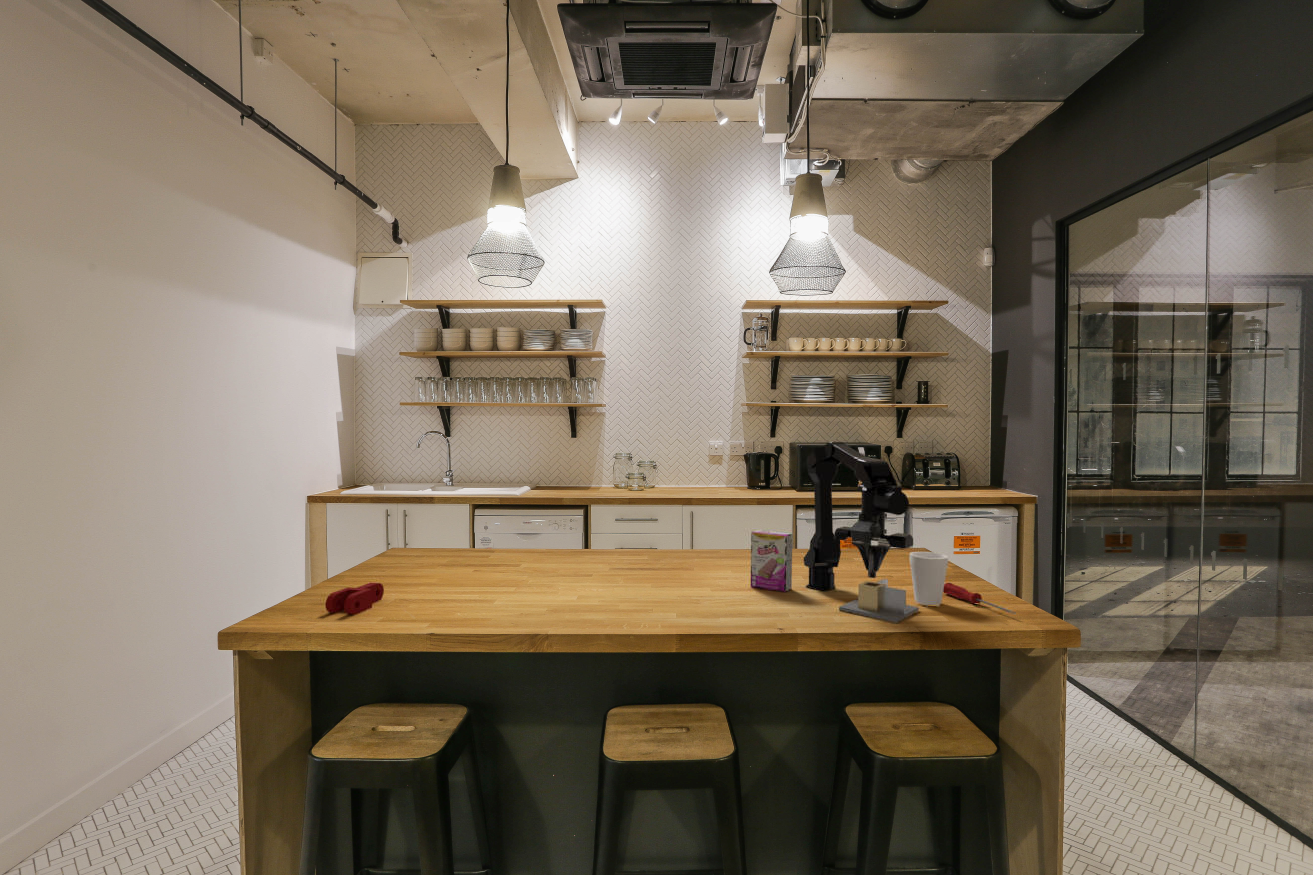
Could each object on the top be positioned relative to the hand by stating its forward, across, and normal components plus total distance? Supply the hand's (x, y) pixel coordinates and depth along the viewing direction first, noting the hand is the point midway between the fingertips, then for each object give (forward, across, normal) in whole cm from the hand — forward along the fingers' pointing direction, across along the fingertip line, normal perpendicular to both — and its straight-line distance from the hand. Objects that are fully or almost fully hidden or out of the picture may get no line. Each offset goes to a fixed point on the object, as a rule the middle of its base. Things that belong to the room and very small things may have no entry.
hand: (872, 570), depth 164 cm
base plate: (+10, +1, +2) cm, 11 cm away
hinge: (+9, +3, +3) cm, 10 cm away
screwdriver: (+11, +18, +25) cm, 33 cm away
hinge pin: (+2, 0, 0) cm, 2 cm away
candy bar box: (+11, -31, +2) cm, 33 cm away
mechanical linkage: (+11, -97, -88) cm, 132 cm away
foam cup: (+11, +8, +18) cm, 22 cm away
